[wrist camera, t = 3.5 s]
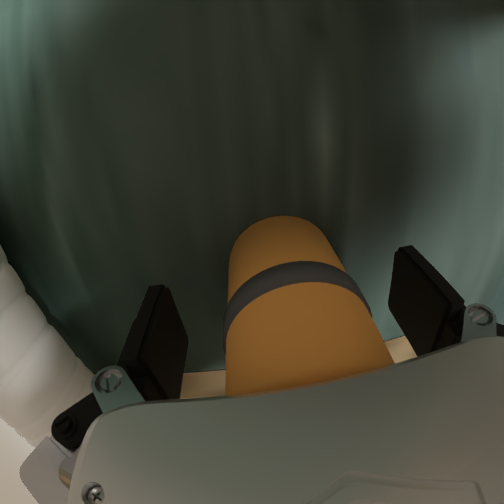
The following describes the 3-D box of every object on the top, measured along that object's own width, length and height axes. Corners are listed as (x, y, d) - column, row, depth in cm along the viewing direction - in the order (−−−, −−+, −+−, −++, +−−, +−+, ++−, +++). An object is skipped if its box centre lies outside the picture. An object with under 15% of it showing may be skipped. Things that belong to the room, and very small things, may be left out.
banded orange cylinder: (331, 206, 12) (429, 336, 5) (333, 297, 15) (386, 433, 8) (216, 223, 12) (195, 381, 5) (237, 312, 15) (240, 461, 8)
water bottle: (-59, 215, 10) (143, 463, 18) (-121, 243, 4) (138, 524, 12) (6, 127, 10) (229, 438, 18) (-77, 125, 4) (240, 510, 12)
